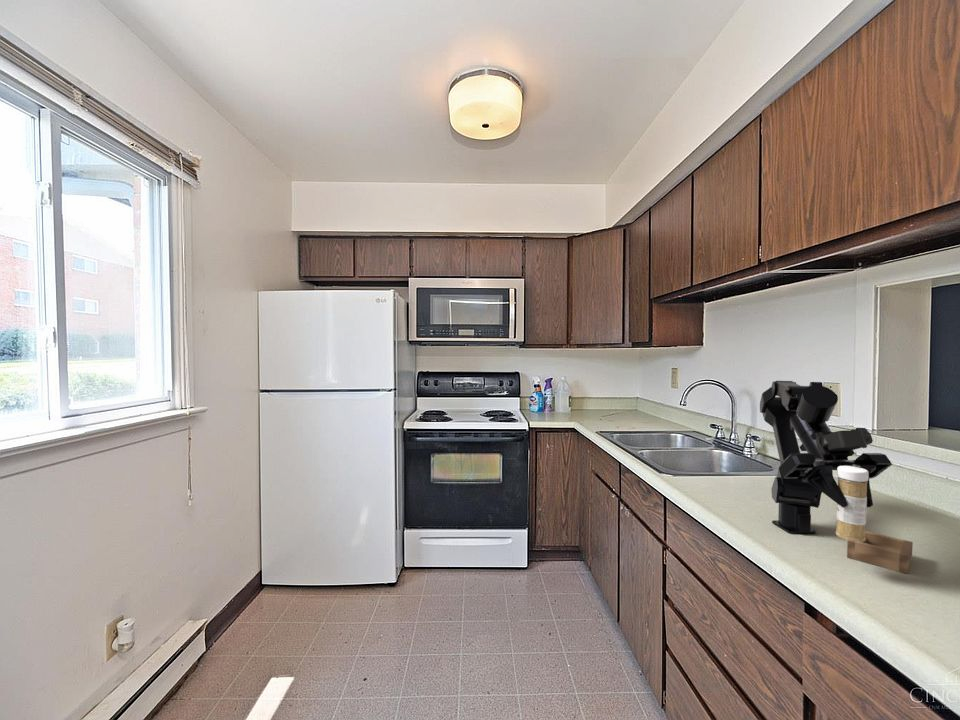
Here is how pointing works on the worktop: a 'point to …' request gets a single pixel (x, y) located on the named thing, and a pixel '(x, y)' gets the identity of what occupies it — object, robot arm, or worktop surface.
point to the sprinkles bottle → (852, 503)
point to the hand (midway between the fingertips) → (858, 506)
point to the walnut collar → (882, 552)
